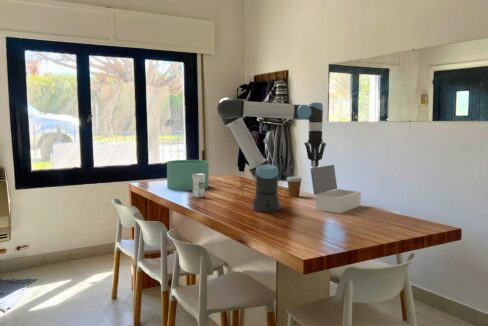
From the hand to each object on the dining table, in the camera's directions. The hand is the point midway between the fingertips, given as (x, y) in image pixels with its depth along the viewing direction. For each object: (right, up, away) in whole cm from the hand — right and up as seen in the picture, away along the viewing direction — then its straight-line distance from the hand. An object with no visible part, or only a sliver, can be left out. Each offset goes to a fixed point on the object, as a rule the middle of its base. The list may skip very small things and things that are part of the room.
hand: (314, 172), depth 233 cm
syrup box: (-68, -16, +24) cm, 74 cm away
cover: (+5, -4, -4) cm, 8 cm away
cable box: (+12, -19, -8) cm, 24 cm away
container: (-80, -13, +64) cm, 103 cm away
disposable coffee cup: (-8, -16, +28) cm, 33 cm away
